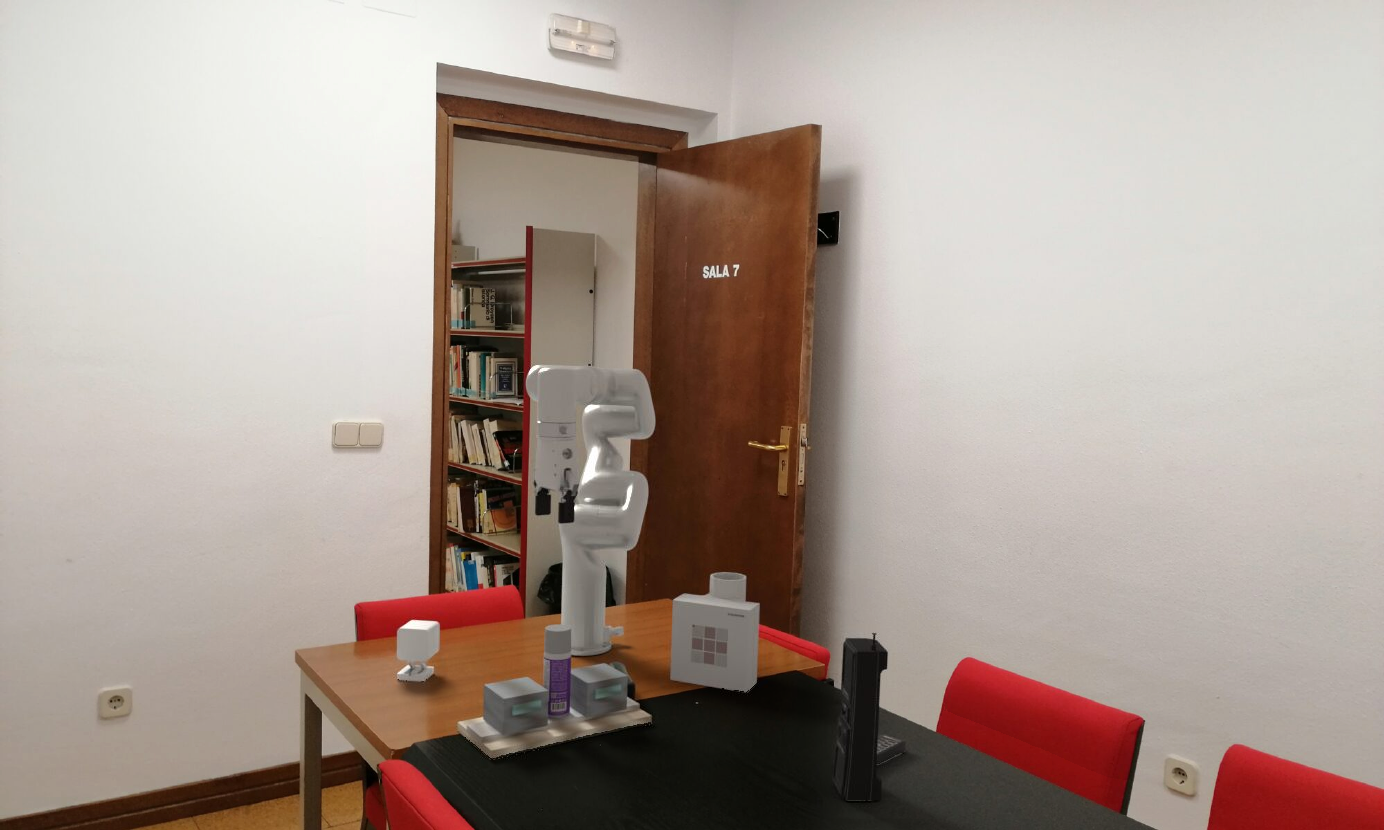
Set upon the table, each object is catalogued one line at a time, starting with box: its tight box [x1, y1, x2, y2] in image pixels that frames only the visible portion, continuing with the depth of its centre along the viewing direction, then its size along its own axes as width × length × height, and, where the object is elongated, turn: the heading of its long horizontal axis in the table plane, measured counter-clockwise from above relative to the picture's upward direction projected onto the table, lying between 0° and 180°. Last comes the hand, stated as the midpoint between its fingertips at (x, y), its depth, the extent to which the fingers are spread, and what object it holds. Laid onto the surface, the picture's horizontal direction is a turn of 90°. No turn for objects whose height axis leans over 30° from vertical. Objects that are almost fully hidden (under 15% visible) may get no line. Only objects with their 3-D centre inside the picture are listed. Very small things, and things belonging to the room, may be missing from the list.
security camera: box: [396, 619, 441, 682], centre depth 193 cm, size 6×7×10 cm
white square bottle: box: [669, 571, 761, 693], centre depth 200 cm, size 16×19×20 cm
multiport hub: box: [877, 733, 907, 764], centre depth 159 cm, size 4×14×2 cm, turn 137°
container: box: [542, 623, 572, 718], centre depth 168 cm, size 5×5×15 cm
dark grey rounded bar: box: [609, 661, 636, 702], centre depth 186 cm, size 5×3×15 cm
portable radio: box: [832, 632, 889, 801], centre depth 147 cm, size 8×6×25 cm
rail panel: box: [457, 662, 653, 759], centre depth 168 cm, size 30×14×8 cm, turn 125°
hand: (554, 518), depth 190 cm, fingers open, 9 cm apart
